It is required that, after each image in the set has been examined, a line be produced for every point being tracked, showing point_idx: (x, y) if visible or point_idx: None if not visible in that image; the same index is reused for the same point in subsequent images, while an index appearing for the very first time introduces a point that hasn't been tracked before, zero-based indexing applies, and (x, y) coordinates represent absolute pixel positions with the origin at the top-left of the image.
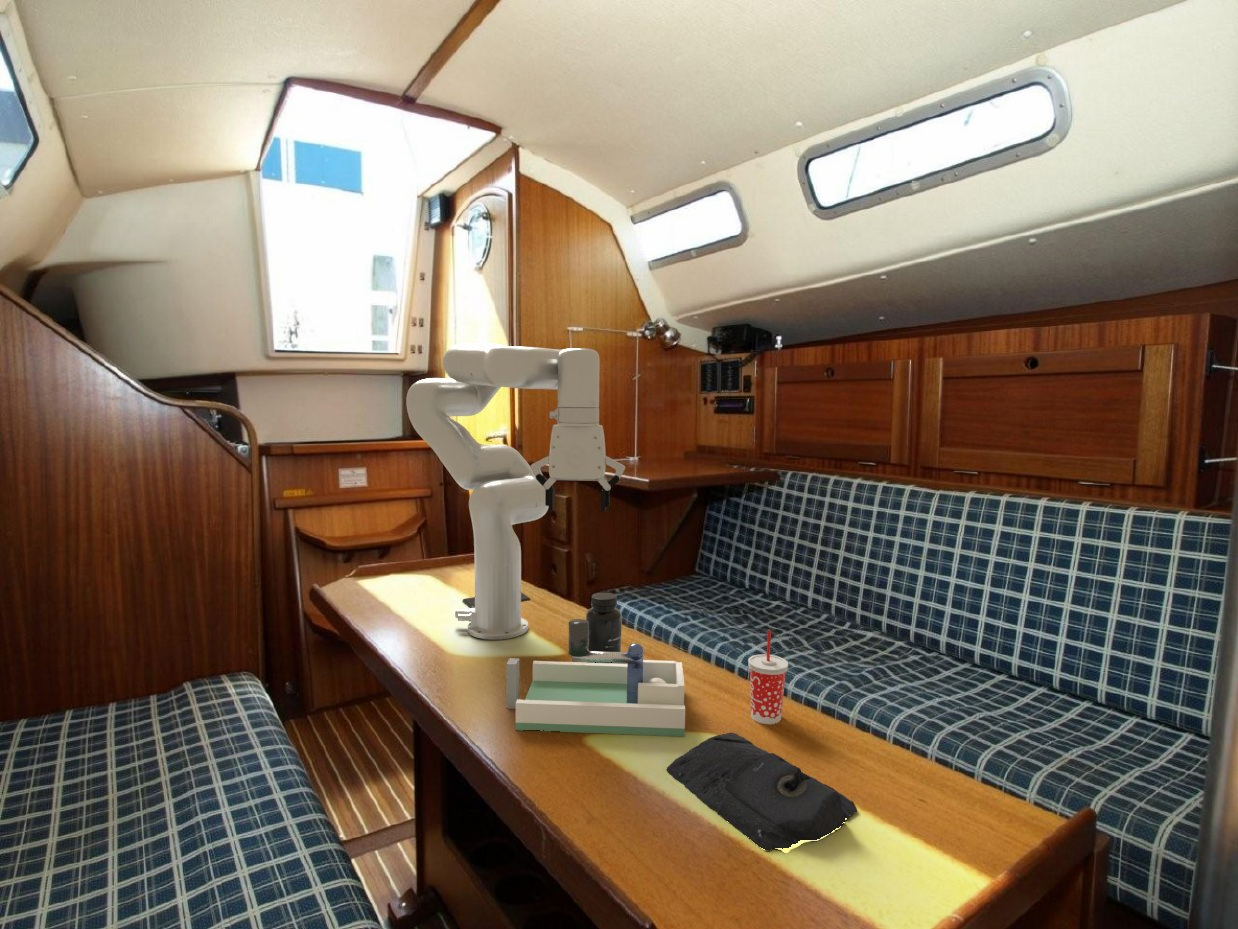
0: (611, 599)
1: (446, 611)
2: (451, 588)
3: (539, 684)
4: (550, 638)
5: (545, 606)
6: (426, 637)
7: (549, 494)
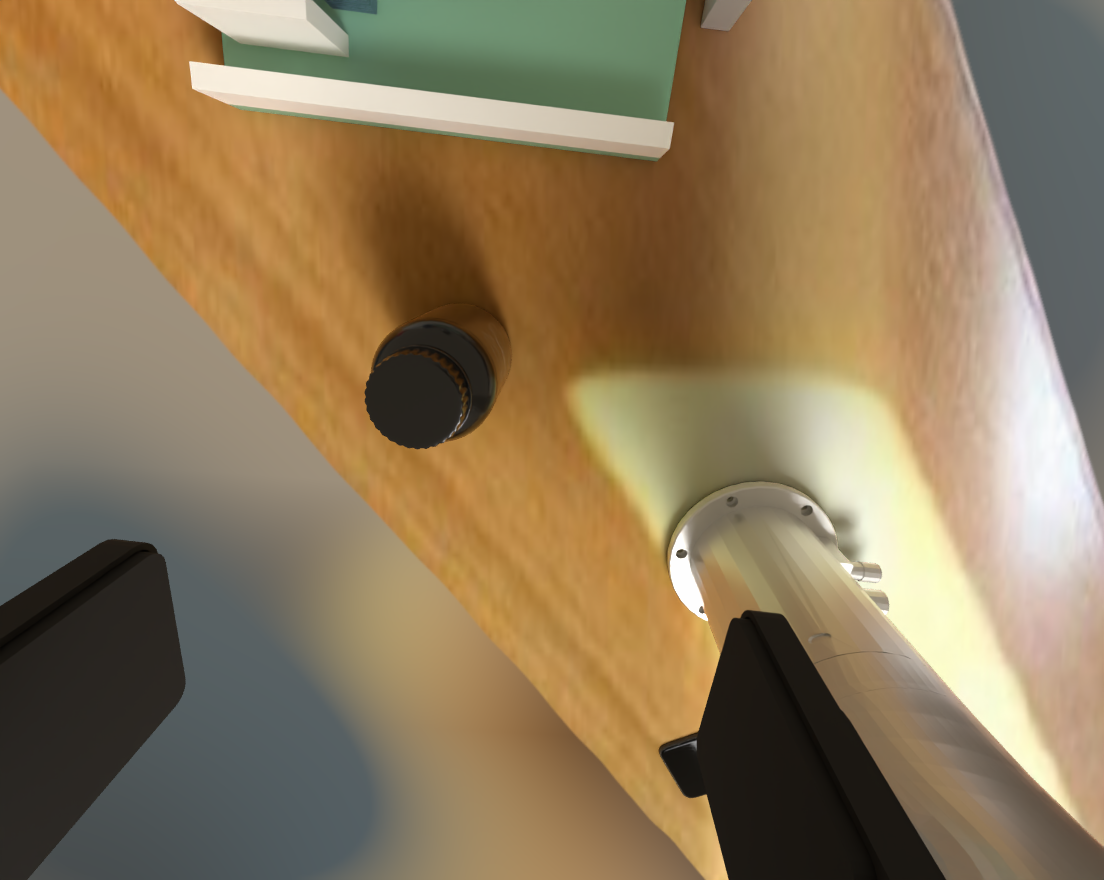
0: (383, 360)
1: None
2: None
3: (644, 102)
4: (607, 491)
5: (619, 704)
6: (943, 511)
7: (878, 798)
